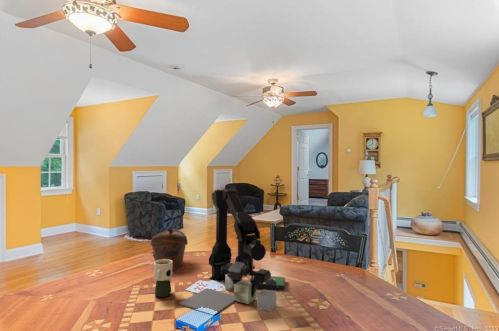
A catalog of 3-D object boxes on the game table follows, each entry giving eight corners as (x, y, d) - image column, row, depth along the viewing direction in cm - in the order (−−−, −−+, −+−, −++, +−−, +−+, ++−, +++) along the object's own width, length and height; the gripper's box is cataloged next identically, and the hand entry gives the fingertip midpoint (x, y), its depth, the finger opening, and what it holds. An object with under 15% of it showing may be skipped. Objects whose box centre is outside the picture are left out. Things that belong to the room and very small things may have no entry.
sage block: (234, 300, 115) (234, 284, 115) (242, 294, 120) (242, 279, 120) (248, 304, 112) (248, 287, 112) (256, 298, 117) (256, 282, 117)
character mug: (166, 301, 115) (167, 266, 115) (148, 300, 116) (148, 266, 116) (176, 290, 126) (176, 258, 126) (159, 289, 127) (159, 257, 127)
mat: (178, 304, 113) (178, 303, 113) (206, 289, 127) (206, 288, 127) (214, 315, 105) (214, 313, 105) (239, 298, 119) (239, 296, 119)
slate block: (257, 308, 111) (257, 294, 111) (263, 302, 115) (263, 289, 115) (269, 311, 108) (269, 297, 108) (276, 305, 113) (276, 292, 113)
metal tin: (222, 289, 127) (222, 274, 127) (229, 285, 131) (229, 271, 131) (232, 292, 124) (232, 277, 124) (239, 287, 129) (239, 273, 129)
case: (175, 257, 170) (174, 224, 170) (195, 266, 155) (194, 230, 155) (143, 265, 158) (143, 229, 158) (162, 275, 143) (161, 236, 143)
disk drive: (248, 290, 128) (284, 292, 126) (248, 283, 128) (284, 285, 126) (251, 281, 138) (285, 282, 136) (251, 274, 138) (285, 276, 136)
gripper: (212, 254, 114) (212, 297, 114) (256, 263, 104) (256, 309, 105) (229, 247, 124) (229, 287, 124) (271, 254, 114) (271, 297, 114)
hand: (245, 295), depth 116 cm, fingers closed on sage block, 6 cm apart
